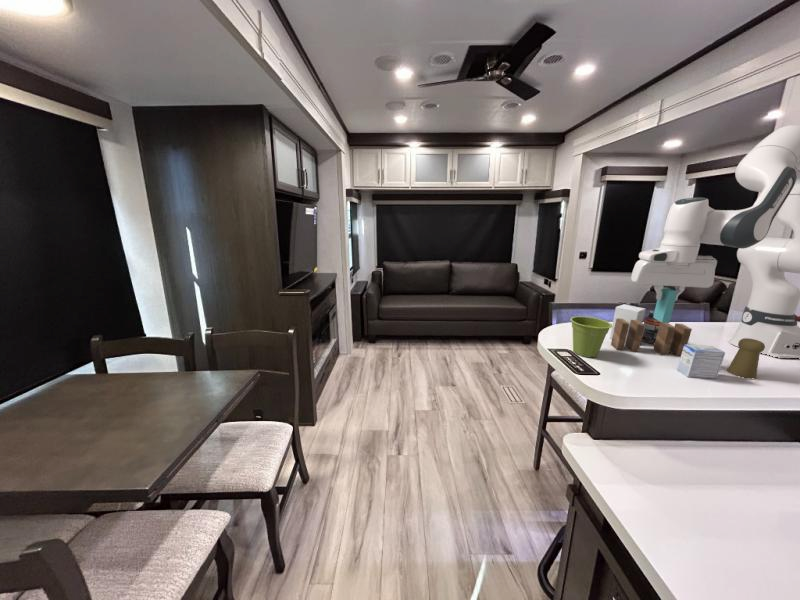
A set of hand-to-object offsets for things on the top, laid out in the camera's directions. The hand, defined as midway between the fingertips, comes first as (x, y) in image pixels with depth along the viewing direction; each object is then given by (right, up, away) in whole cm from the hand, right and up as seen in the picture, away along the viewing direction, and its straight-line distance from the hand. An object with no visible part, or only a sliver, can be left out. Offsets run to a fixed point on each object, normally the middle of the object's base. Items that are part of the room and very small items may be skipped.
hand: (666, 299), depth 97 cm
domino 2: (-1, -17, +13) cm, 22 cm away
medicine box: (+6, -22, -4) cm, 23 cm away
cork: (+20, -22, -3) cm, 30 cm away
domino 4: (+8, -18, +11) cm, 22 cm away
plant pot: (-20, -18, +9) cm, 28 cm away
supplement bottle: (+11, -16, +21) cm, 28 cm away
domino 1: (-6, -17, +14) cm, 23 cm away
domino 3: (0, -6, +2) cm, 7 cm away
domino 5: (+12, -18, +10) cm, 24 cm away
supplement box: (+2, -15, +22) cm, 27 cm away
